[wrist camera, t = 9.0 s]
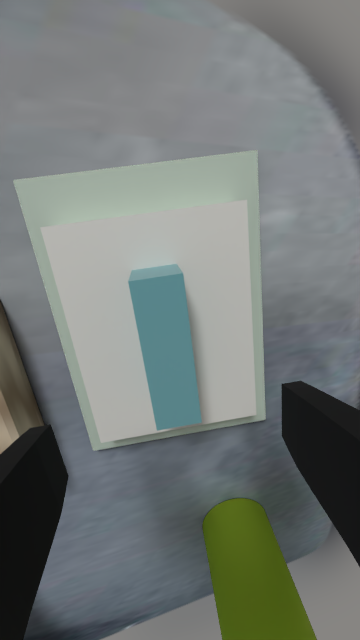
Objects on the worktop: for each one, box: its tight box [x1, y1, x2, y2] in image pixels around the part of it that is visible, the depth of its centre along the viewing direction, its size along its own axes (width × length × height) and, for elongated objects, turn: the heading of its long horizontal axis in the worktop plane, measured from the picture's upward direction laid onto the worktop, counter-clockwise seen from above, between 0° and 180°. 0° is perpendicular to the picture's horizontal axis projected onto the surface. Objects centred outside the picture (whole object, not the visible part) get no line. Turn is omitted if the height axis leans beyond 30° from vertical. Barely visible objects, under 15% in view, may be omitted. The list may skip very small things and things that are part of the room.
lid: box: [40, 200, 256, 443], centre depth 16 cm, size 13×10×5 cm
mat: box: [13, 150, 266, 451], centre depth 18 cm, size 18×13×1 cm
